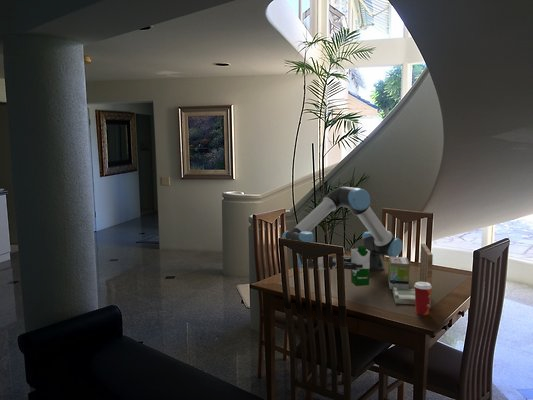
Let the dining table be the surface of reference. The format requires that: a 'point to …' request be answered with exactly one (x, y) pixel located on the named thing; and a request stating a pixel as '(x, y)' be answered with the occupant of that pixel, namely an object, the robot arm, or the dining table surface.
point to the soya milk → (360, 275)
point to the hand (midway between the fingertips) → (369, 263)
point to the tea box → (398, 272)
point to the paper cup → (422, 297)
